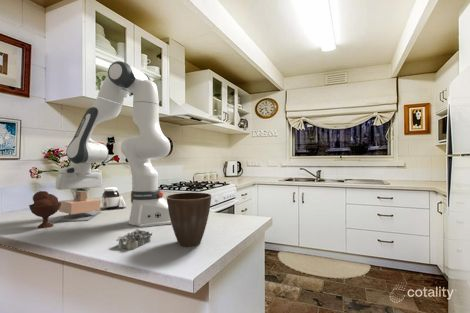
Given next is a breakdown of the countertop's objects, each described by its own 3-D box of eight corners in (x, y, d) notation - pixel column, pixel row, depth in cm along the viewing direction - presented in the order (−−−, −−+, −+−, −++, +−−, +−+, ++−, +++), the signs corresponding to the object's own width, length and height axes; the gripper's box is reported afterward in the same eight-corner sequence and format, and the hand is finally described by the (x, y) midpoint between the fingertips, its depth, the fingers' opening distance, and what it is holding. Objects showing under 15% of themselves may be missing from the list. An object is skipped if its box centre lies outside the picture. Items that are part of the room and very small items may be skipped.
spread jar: (100, 208, 145) (100, 187, 145) (119, 205, 154) (119, 186, 154) (109, 211, 137) (109, 189, 137) (129, 207, 146) (129, 187, 146)
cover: (87, 207, 133) (87, 189, 133) (100, 210, 126) (100, 191, 126) (58, 211, 122) (59, 191, 123) (71, 214, 115) (71, 193, 115)
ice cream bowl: (44, 230, 100) (44, 192, 100) (21, 229, 102) (21, 192, 103) (67, 224, 111) (67, 189, 111) (46, 222, 113) (46, 189, 113)
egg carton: (132, 251, 79) (131, 238, 79) (113, 248, 81) (113, 235, 81) (154, 240, 89) (154, 229, 89) (137, 238, 91) (137, 227, 91)
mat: (101, 212, 134) (101, 211, 134) (88, 220, 116) (88, 219, 116) (71, 213, 131) (71, 212, 131) (54, 222, 113) (54, 221, 113)
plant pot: (204, 252, 77) (204, 199, 77) (158, 249, 79) (158, 198, 79) (216, 237, 92) (216, 193, 92) (177, 235, 94) (176, 192, 94)
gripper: (98, 169, 135) (98, 195, 134) (54, 169, 118) (53, 199, 118) (105, 169, 131) (104, 196, 131) (60, 169, 114) (59, 200, 114)
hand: (80, 197), depth 124 cm, fingers closed on cover, 3 cm apart
